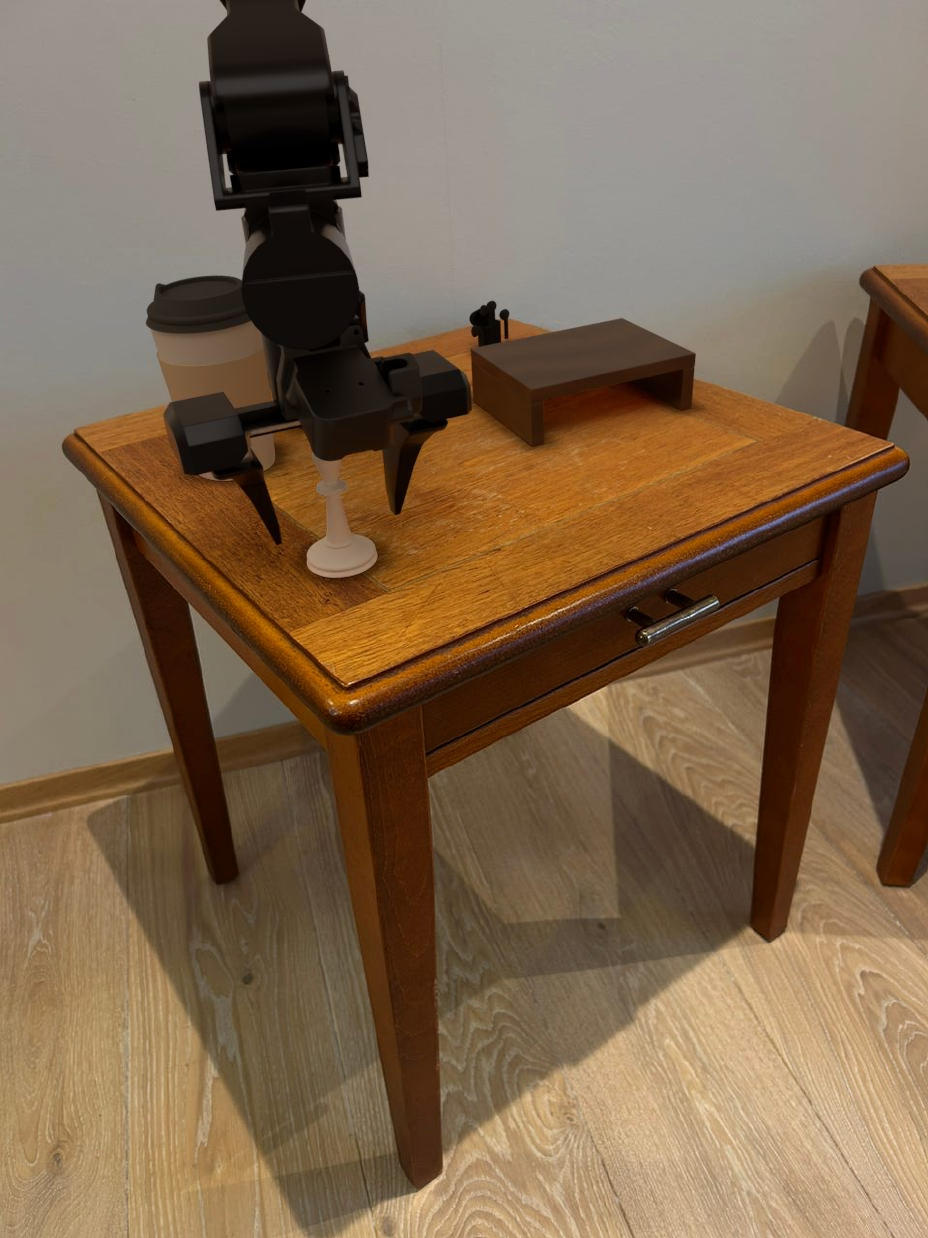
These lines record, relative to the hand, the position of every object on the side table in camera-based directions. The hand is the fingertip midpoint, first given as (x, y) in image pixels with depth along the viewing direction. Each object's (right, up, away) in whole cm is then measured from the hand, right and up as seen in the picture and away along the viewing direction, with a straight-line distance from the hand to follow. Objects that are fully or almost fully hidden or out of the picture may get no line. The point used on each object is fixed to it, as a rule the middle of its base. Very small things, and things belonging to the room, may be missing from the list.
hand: (337, 527), depth 66 cm
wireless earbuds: (+11, +22, +36) cm, 44 cm away
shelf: (+19, +13, +22) cm, 32 cm away
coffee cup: (-11, +7, +16) cm, 20 cm away
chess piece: (0, -2, +2) cm, 3 cm away
